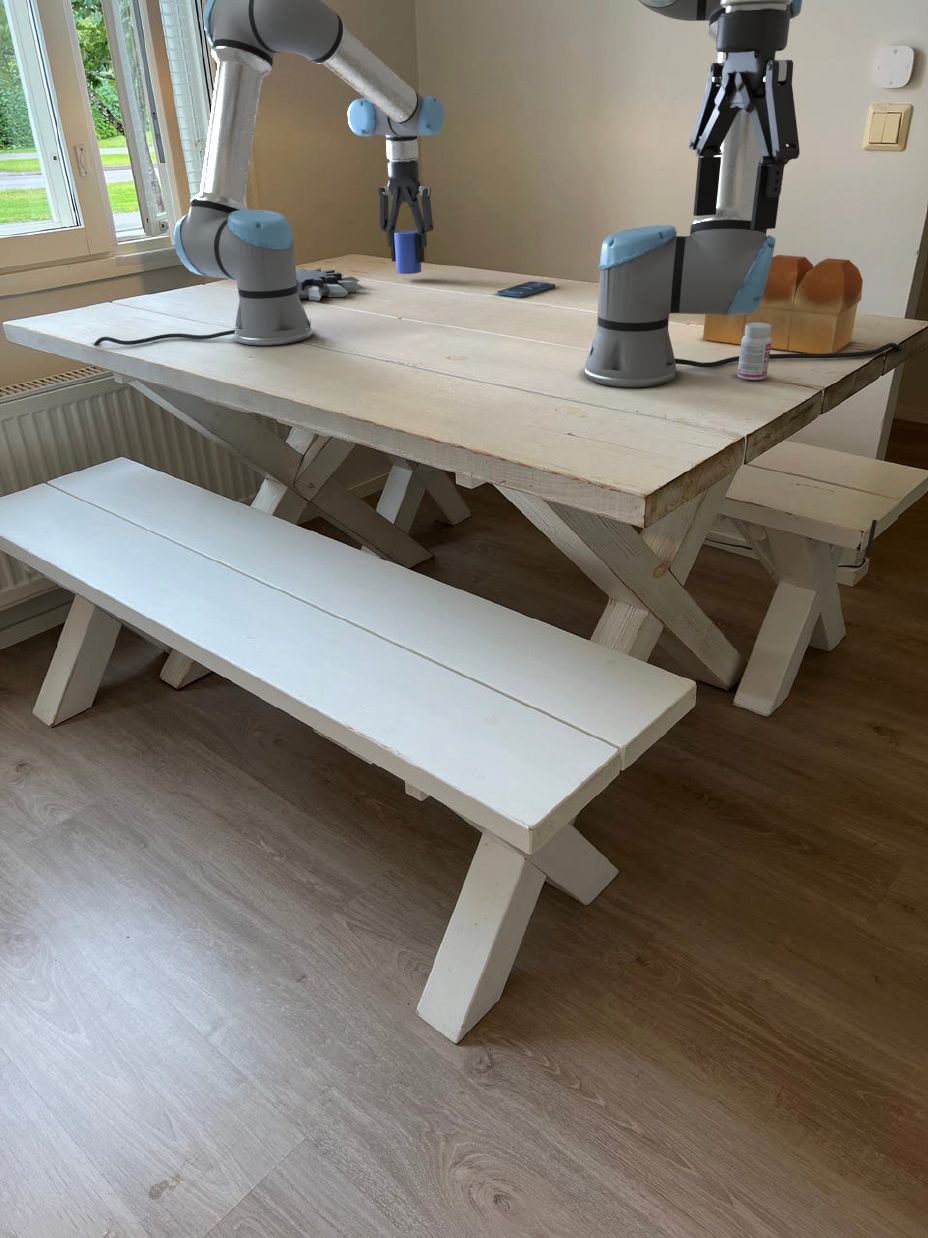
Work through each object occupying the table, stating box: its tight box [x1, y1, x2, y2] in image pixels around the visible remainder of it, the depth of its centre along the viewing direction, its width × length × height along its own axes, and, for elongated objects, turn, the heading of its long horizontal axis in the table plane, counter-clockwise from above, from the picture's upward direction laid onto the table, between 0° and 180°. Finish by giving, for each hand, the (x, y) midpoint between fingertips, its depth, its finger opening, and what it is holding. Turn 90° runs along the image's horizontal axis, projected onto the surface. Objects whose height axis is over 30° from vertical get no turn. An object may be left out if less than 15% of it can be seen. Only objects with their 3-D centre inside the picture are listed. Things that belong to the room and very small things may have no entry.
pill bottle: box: [737, 323, 772, 381], centre depth 155 cm, size 5×5×8 cm
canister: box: [394, 229, 422, 275], centre depth 238 cm, size 6×6×9 cm
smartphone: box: [496, 281, 556, 298], centre depth 225 cm, size 8×1×15 cm
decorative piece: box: [296, 267, 363, 302], centre depth 230 cm, size 30×4×30 cm
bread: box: [702, 254, 864, 354], centre depth 174 cm, size 25×12×15 cm, turn 54°
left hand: (408, 260), depth 239 cm, fingers closed on canister, 6 cm apart
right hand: (732, 221), depth 112 cm, fingers open, 13 cm apart
